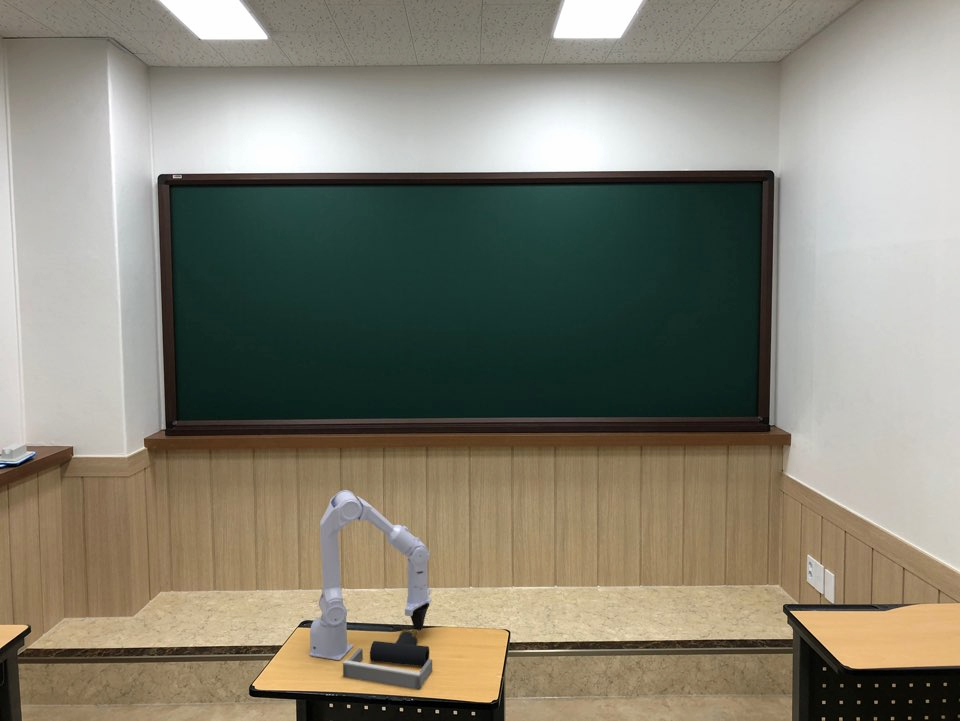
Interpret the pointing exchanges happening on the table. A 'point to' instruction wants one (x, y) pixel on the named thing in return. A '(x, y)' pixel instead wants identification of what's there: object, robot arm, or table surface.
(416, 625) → the robot arm
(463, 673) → the table surface
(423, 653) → the pipe connector
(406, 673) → the bracket
